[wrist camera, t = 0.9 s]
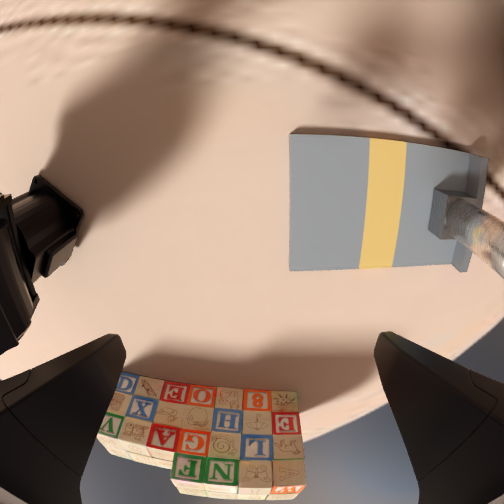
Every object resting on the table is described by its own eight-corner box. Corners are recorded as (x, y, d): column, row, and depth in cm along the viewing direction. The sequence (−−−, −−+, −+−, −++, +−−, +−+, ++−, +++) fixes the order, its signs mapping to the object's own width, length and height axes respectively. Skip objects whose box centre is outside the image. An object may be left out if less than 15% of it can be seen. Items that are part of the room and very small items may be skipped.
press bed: (288, 266, 22) (292, 282, 20) (289, 133, 18) (293, 135, 16) (453, 259, 22) (466, 271, 19) (470, 153, 17) (488, 158, 15)
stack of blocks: (128, 397, 32) (102, 473, 20) (117, 368, 29) (81, 452, 18) (289, 416, 32) (294, 500, 21) (298, 390, 29) (308, 487, 18)
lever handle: (427, 229, 19) (511, 304, 10) (433, 188, 18) (532, 247, 8) (456, 230, 19) (538, 297, 10) (463, 191, 18) (556, 246, 8)
